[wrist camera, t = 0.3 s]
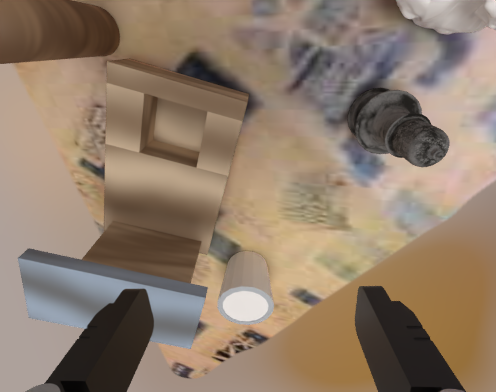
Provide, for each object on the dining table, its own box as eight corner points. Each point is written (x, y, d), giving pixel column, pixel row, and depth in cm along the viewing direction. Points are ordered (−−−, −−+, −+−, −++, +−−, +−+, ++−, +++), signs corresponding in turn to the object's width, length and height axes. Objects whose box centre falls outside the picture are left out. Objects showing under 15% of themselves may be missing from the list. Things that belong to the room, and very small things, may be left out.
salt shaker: (339, 141, 30) (384, 194, 19) (351, 83, 27) (412, 108, 16) (393, 143, 30) (467, 198, 19) (411, 86, 27) (510, 113, 16)
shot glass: (263, 287, 41) (264, 330, 35) (218, 277, 40) (211, 319, 34) (277, 253, 38) (281, 294, 32) (229, 242, 37) (224, 281, 31)
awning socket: (124, 57, 26) (-18, 71, 13) (253, 95, 28) (249, 145, 14) (117, 212, 35) (29, 317, 22) (215, 235, 36) (190, 348, 23)
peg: (74, -1, 24) (-65, -35, 14) (120, 13, 25) (18, -9, 14) (76, 48, 26) (-45, 52, 16) (118, 61, 27) (28, 72, 16)
